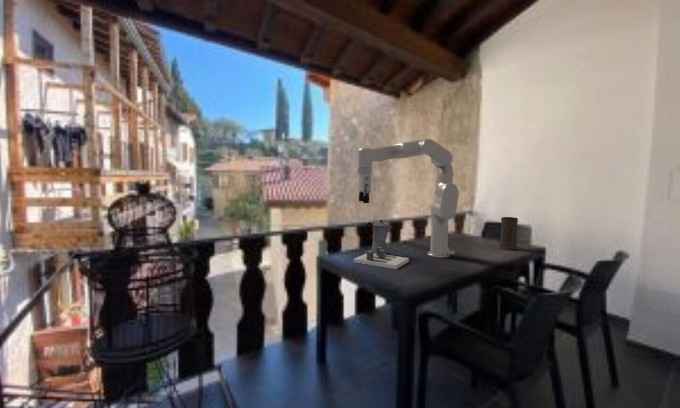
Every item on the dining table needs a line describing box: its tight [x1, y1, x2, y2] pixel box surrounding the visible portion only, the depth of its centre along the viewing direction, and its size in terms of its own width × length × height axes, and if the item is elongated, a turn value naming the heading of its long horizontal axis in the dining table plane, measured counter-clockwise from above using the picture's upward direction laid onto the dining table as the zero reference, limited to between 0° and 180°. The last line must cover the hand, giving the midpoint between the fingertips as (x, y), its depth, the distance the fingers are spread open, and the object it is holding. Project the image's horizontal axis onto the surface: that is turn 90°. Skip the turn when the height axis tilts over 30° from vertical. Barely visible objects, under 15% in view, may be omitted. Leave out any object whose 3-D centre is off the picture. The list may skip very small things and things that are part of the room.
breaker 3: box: [378, 250, 386, 259], centre depth 223 cm, size 2×3×4 cm
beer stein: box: [498, 216, 519, 250], centre depth 265 cm, size 15×11×20 cm
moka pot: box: [365, 219, 393, 255], centre depth 242 cm, size 10×15×20 cm, turn 78°
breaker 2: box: [376, 247, 383, 255], centre depth 230 cm, size 2×3×4 cm
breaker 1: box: [366, 250, 373, 260], centre depth 220 cm, size 2×3×4 cm
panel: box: [353, 252, 410, 270], centre depth 224 cm, size 24×18×2 cm
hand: (363, 202), depth 230 cm, fingers open, 9 cm apart
